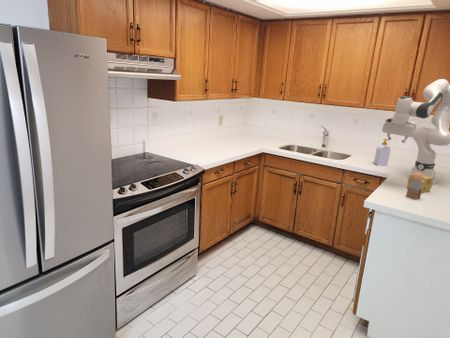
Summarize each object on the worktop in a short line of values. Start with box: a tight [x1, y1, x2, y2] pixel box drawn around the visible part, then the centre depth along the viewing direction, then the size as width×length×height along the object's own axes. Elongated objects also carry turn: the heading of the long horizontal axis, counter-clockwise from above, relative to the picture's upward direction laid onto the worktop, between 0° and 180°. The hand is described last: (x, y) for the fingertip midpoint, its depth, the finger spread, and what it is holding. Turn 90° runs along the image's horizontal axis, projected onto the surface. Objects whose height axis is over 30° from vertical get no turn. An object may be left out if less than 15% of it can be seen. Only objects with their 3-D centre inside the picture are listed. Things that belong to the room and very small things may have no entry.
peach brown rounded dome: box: [412, 172, 423, 182], centre depth 198 cm, size 5×5×5 cm
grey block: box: [409, 180, 423, 190], centre depth 200 cm, size 5×5×5 cm
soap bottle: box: [373, 138, 391, 167], centre depth 277 cm, size 9×7×23 cm
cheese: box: [406, 174, 434, 194], centre depth 217 cm, size 10×11×10 cm
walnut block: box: [405, 188, 422, 201], centre depth 201 cm, size 6×6×6 cm
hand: (396, 141), depth 218 cm, fingers open, 8 cm apart
